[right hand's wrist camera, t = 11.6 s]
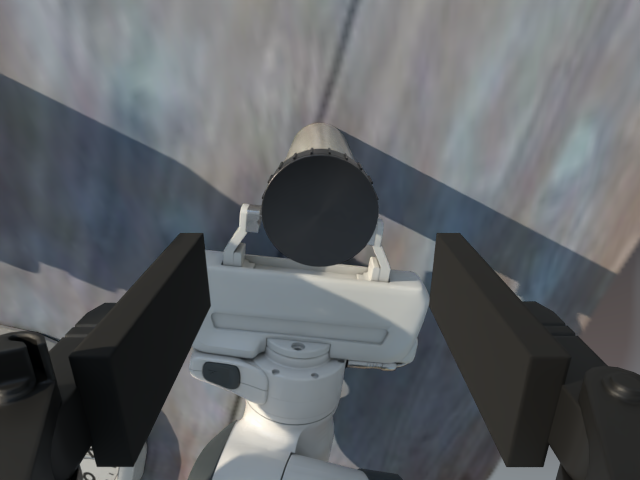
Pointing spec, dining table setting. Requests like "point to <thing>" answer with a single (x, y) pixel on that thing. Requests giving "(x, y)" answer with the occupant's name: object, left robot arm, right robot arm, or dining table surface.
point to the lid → (319, 208)
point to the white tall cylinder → (320, 140)
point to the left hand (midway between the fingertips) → (313, 213)
